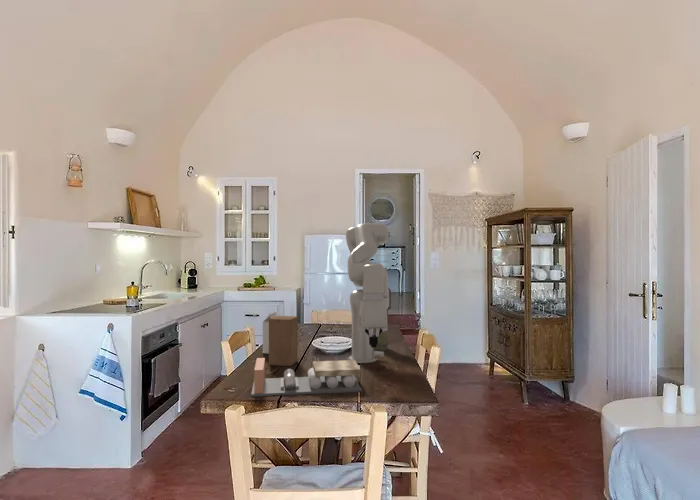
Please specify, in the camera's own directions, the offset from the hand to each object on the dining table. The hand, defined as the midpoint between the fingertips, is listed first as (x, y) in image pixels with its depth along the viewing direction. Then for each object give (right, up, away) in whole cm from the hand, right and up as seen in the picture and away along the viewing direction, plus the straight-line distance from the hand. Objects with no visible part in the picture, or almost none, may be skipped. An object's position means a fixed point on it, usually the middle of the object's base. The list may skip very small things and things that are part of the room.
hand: (373, 346), depth 178 cm
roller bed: (-25, -14, -3) cm, 28 cm away
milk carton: (-46, -14, +53) cm, 71 cm away
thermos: (+6, -13, +60) cm, 62 cm away
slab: (-14, -9, -1) cm, 16 cm away
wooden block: (-38, -14, +32) cm, 51 cm away
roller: (-31, -13, -4) cm, 34 cm away
